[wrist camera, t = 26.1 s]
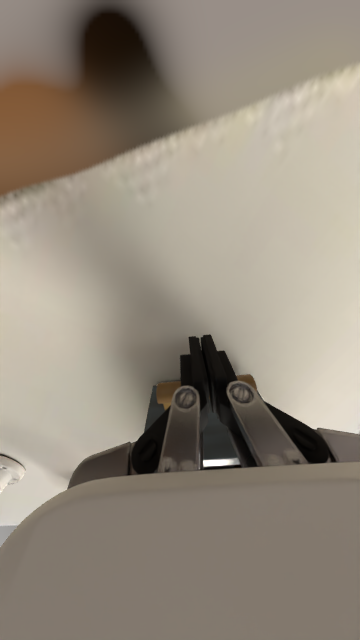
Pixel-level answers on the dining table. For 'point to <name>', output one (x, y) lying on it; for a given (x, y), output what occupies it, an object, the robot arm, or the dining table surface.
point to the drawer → (215, 432)
